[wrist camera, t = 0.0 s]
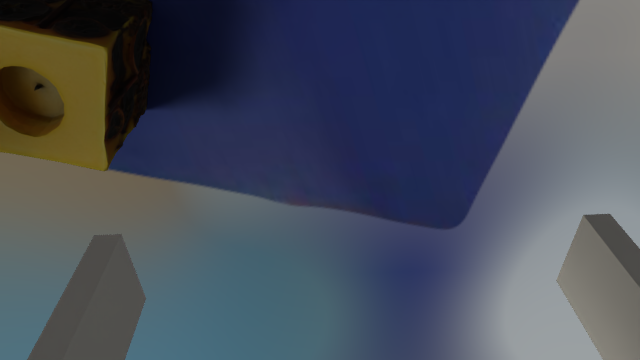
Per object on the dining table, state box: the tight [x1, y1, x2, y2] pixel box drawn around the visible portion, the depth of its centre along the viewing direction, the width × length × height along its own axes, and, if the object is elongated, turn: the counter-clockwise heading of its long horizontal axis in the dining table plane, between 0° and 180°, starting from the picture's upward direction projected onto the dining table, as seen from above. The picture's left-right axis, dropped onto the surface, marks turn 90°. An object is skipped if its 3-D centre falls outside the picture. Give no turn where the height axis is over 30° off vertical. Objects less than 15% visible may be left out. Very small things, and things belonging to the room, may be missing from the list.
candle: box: [0, 0, 153, 171], centre depth 34 cm, size 10×10×10 cm
